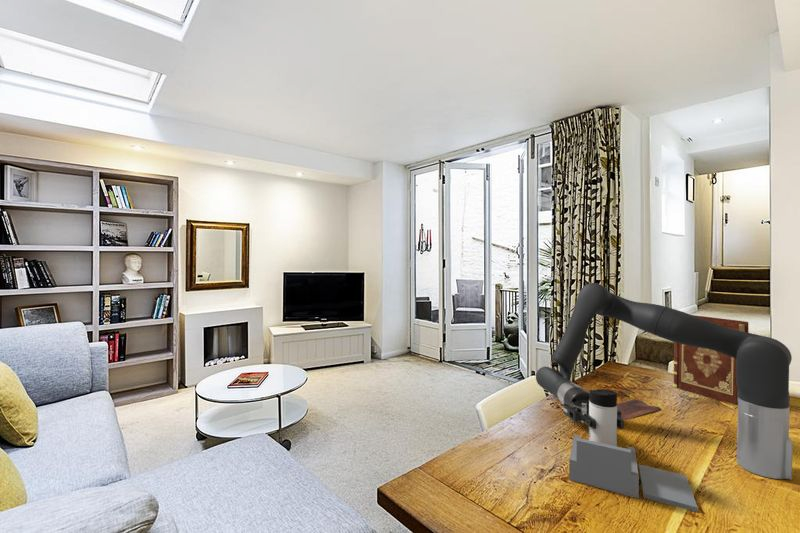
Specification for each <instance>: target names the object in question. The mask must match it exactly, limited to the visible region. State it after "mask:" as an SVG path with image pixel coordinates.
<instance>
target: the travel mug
mask: <svg viewBox="0 0 800 533" xmlns="http://www.w3.org/2000/svg"><path fill="white" fill-rule="evenodd" d="M588 393H589V396H590V398H589V415H590V416H591V417H592V418H593V419H595V420H596V429H592V428H591V427H589V426H588V440H590V441H594V442H599V443H603V444H608V445H612V446H617V447H618V442H617V440H618V427H617V403H618V392H616V391H614V390H611V389H603V388H602V389H601V388H597V389H589V391H588Z"/></svg>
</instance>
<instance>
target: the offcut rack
mask: <svg viewBox="0 0 800 533" xmlns="http://www.w3.org/2000/svg"><path fill="white" fill-rule="evenodd" d="M638 470H639V467H638V462H637V454H636V449H635V447H631V446H627V448H625V447H620V446H618V445H617V446H612V445H608V444H603V443H599V442H594V441H590V440H589V439H585V438H581V436H580V435H577V434H574V435H573V438H572V445H571V449H570V456H569V472H568V474H569V478H568V479H569V481H572V482H576V483H579V484H580V483H581V484H583V485H586V486H591V487H595V488H599V489H602V490H605V491H609V492H613V493H617V494H619V495H620V494H621V495H624V496H627V497H631V498H635V499H637V500H638V499H639V498H640V497H639V494H640V493H639V492H640V491H639V489H640V488H639V487H640V486H639V484H640V483H639V482H640V481H639V480H640V478H639V477H640V474H639V471H638Z"/></svg>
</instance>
